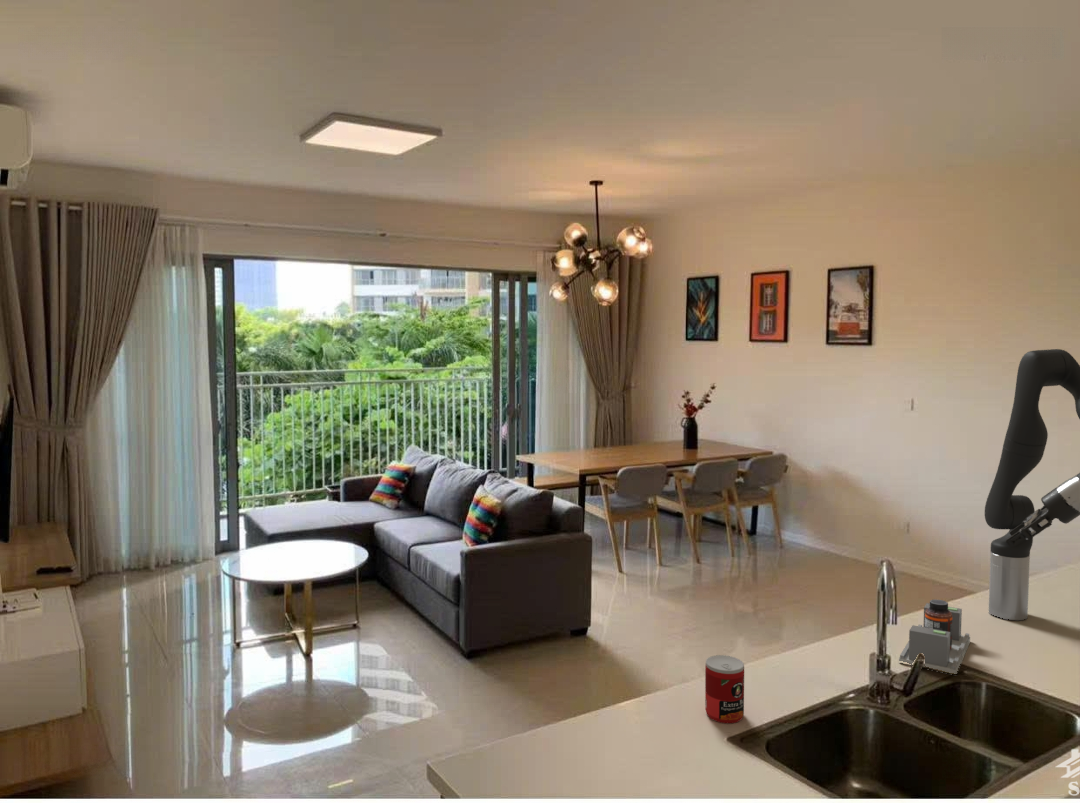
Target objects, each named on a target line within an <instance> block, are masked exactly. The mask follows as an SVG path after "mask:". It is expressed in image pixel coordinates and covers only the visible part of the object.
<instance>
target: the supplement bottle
mask: <svg viewBox="0 0 1080 803" xmlns="http://www.w3.org/2000/svg"><path fill="white" fill-rule="evenodd" d="M929 603H930V607H929V608H928V609H926V611H925V628H931V629H936V630H942V631H947V632H950V649H951V647H952V613H951V612H950V611H949V610H948V607H949V603H948V602H947V601H946V600H943V599H937V598H936V599H935V598H934V599H930V600H929Z"/></svg>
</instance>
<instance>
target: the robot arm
mask: <svg viewBox="0 0 1080 803" xmlns="http://www.w3.org/2000/svg"><path fill="white" fill-rule="evenodd" d="M1017 368H1018V369H1017V375H1016V382H1015V390H1014V399H1013V404H1012V408H1011V414H1010V418H1009V422H1008V426H1007V429H1006V432H1005V436H1004V441H1003V445H1002V450H1001V455H1000V458H999V463H998V467H997V469H996V473H995V477H994V480H993V481H992V485H991V486H990V490H989V493H988V495H987V497H986V501H985V506H984V519H985V522H986V525H987V526H988V527H990V528H991V529H995V530H1009V531H1008V532H1006V533H1005V535H1003V536H1001V537H998V538H996V539H993V540H992V541H991V543H990V558H989V560H990V561H989V562H990V563H989V583H988V585H989V588H988V611H989V612H988V613H989V614H990V615H991V614H992V615H991V616H993V615H994V617H995V616H997V617H996V618H998V617H1000V618H999V619H1002V618H1003V619H1002V620H1008V619H1009V621H1024V619H1025V620H1027V619H1028V612H1029V611H1028V610H1029V586H1030V585H1029V584H1030V582H1029V581H1030V562H1031V561H1030V558H1031V557H1030V556H1031V549H1032V547H1033V543H1034V537H1035V536H1037V535H1039V534H1040V533H1042V532H1043V531H1044V530H1046V529H1047V528H1050V527H1051V526H1052V525H1053V520H1055V519H1057V520H1058V521H1059V522H1060V523H1063V524H1065V525H1066V524H1069V523H1070V522H1072V521H1073V520H1075V519H1076V518H1078V517H1079V516H1080V472H1079V473H1077V474H1075V475H1073V476H1072V477H1070V478H1068V479H1067V480H1065V481H1064V482H1062V483H1060V484H1059V485H1057V486H1056V487H1054V488H1053V489H1052V490H1050V491H1049V492H1047V493H1046V494H1045V495H1043V496H1042V497H1041V498H1040V501H1041V503H1042V505H1043V506H1042V507H1040V508H1038V509H1036V510H1035V505H1034V503H1033V502H1032V501H1033V500H1032V499H1031V498H1029V497H1028V496H1027V495H1023V494H1022V495H1021V494H1018V495H1017V494H1016V495H1015V494H1014V491H1015V490H1016V488H1017V486H1018V485H1019V484H1020V483H1021V482H1022V481H1023V480H1024V479H1025V478H1026V477H1027V475H1029V474H1030V473H1031V472H1032V471H1033V470H1034V469H1035V468H1036V467H1037V466H1038V465H1039V464H1040V462H1041V460H1042V459H1043V457H1044V454H1045V449H1046V445H1047V442H1048V437H1049V433H1048V429H1047V426H1046V424H1045V421H1044V419H1043V416H1042V415H1041V413H1040V409H1039V405H1040V397H1041V394H1042V390H1043V388H1044V387H1056V386H1059V387H1061V388H1064V389H1065V390H1066V391H1068V392H1069V394H1070V395H1072V397H1073V399H1074V405H1075V411H1076V414H1077V417H1078V419H1079V420H1080V364H1079V363H1078V361H1077V360H1076V359H1075V358H1074V356H1073V355H1072V354H1071V353H1070V352H1068V351H1067V350H1065V349H1059V348H1051V349H1037V350H1029V351H1027V352H1026V353H1024V354H1023V356H1021V359H1020V362H1019V365H1018V367H1017ZM1013 494H1014V495H1013Z"/></svg>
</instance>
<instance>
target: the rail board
mask: <svg viewBox="0 0 1080 803" xmlns="http://www.w3.org/2000/svg"><path fill="white" fill-rule="evenodd" d="M929 607H930V602H929V603H928V602H926V603H925V605H924V607H923V624H918V625H914V624H913V625H911V627H910V628H909V634H908V635H909V636H908V639H909V640H908V642H907V643H906V645H905V646H904V648H903V649H902V651H901V653H900V654H899V657H898V662H899V661H903V662H907V663H909V664H911V665H912V663H913V662H914V660H915V659H916V657H917V655H918V654H919V653H923V654H924V656H925V666H926V667H929V668H933V669H938V670H942V671H945V672H949V673H954V674H958V672H959V670H958V668H959V669H960V667H961V665H962V663H963V659H964V658H965V655H966V653H967V650H968V649H969V646H970V643H971V637H970V633H968V632H966V633H965V634H964V635H962V618H963V616H962V615H963V614H962V613H963V612H962V611H963V610H962V609H963V608H959V607H954V606H953V607H952V606H948V610H949V611H950V612H951V613H952V647H951V649H950V632H947V631H942V630H936V629H931V628H925V611H926V609H928V608H929ZM963 657H964V658H963ZM961 662H962V663H961ZM960 664H961V665H960ZM959 666H960V667H959ZM957 671H958V672H957Z"/></svg>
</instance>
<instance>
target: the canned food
mask: <svg viewBox="0 0 1080 803" xmlns="http://www.w3.org/2000/svg"><path fill="white" fill-rule="evenodd" d="M704 672H705V674H704V675H705V677H704V678H705V679H704V681H705V682H704V684H705V687H704V689H705V691H704V692H705V694H704V695H705V696H704V698H705V703H704V705H705V706H704V707H705V713H706V715H707V717H708V718H709V719H711V720H712V721H715V722H718V723H720V724H721V723H722V724H735V723H739V722H740V721H742V719H743V717H744V714H745V663H744V662H743V660H741V659H740V658H737V657H735V656H730V655H724V654H721V655H720V654H717V655H712V656H710V657H709V656H708V657H707V658H706V659H705V670H704Z"/></svg>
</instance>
